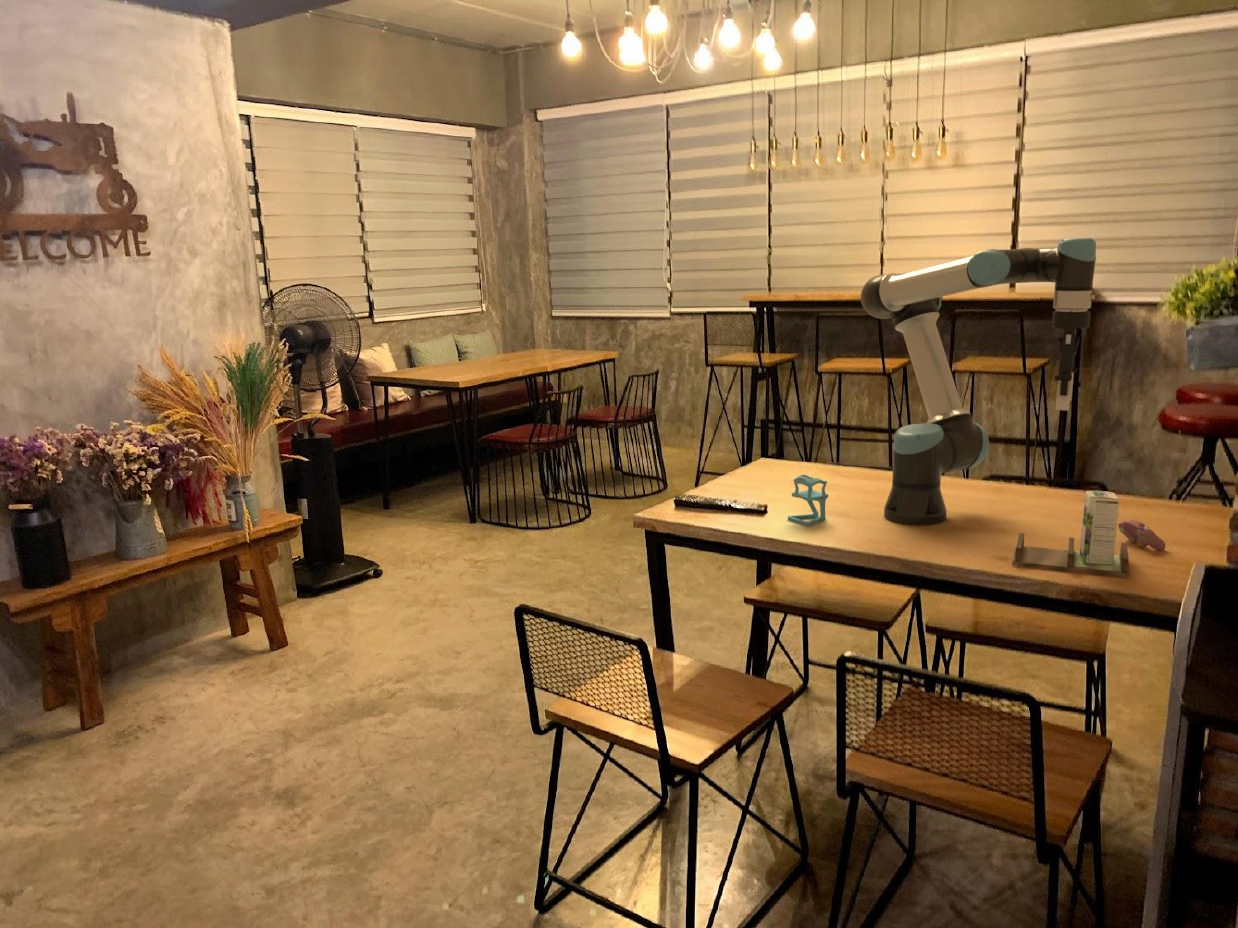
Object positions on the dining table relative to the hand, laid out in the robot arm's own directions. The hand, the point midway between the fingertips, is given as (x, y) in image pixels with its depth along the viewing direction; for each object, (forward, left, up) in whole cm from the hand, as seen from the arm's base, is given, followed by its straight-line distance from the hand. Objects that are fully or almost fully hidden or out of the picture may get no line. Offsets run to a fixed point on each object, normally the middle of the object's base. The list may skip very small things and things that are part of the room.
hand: (1063, 405), depth 207 cm
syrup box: (+9, -19, -30) cm, 37 cm away
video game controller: (+18, 0, -32) cm, 36 cm away
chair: (-56, -6, -31) cm, 65 cm away
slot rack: (+4, -19, -31) cm, 37 cm away
